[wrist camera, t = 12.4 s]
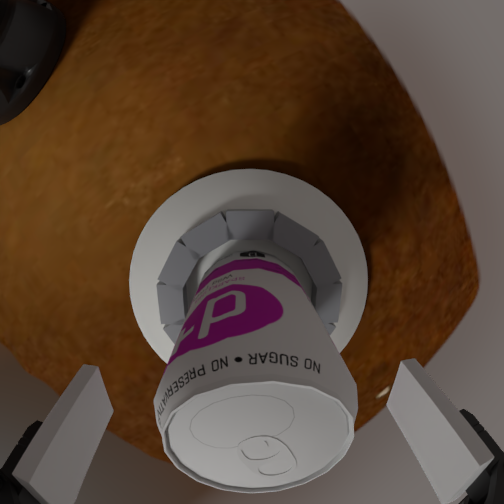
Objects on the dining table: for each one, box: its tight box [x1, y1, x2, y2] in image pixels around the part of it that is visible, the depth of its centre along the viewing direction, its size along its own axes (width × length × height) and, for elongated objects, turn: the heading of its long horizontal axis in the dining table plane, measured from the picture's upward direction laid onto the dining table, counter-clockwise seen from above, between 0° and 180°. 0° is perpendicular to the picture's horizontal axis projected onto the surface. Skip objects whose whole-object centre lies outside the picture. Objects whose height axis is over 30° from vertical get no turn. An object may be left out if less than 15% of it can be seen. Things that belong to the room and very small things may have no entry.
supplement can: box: [154, 250, 358, 493], centre depth 16 cm, size 8×8×15 cm
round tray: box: [129, 169, 368, 364], centre depth 23 cm, size 20×20×3 cm
